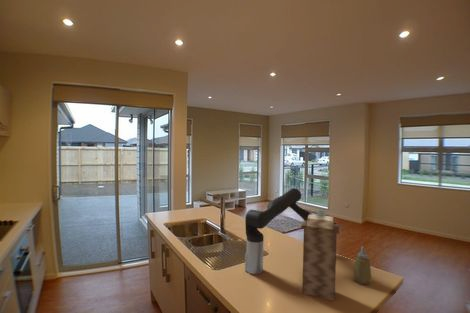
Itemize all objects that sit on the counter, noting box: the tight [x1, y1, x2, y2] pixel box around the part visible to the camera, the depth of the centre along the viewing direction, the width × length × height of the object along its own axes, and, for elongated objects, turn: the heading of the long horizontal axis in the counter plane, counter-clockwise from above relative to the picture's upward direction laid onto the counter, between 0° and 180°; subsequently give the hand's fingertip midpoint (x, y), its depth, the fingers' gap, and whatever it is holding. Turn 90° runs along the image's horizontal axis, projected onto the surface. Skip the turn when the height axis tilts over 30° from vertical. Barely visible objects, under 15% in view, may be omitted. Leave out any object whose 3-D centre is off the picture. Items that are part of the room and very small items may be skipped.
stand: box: [301, 220, 340, 302], centre depth 112 cm, size 16×9×32 cm, turn 68°
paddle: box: [307, 209, 334, 229], centre depth 116 cm, size 11×18×4 cm, turn 158°
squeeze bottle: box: [353, 246, 372, 285], centre depth 123 cm, size 8×8×18 cm
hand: (322, 221), depth 131 cm, fingers open, 8 cm apart
